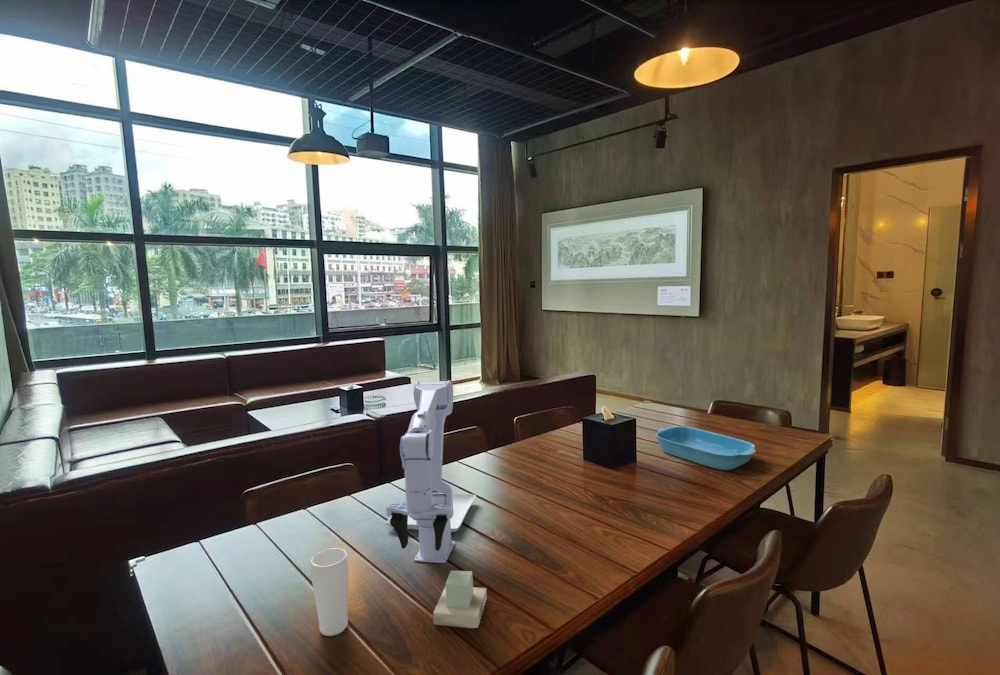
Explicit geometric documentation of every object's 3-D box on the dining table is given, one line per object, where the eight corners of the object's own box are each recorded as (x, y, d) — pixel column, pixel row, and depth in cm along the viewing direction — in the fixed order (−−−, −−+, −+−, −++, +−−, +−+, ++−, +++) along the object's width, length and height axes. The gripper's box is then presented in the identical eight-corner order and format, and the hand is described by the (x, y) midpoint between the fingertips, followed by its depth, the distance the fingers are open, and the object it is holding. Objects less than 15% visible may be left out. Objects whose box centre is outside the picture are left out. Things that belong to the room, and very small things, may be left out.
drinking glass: (355, 615, 99) (351, 546, 97) (346, 639, 92) (341, 566, 90) (322, 617, 98) (317, 548, 97) (310, 641, 92) (305, 567, 90)
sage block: (452, 592, 101) (450, 570, 101) (473, 593, 101) (472, 571, 100) (446, 607, 97) (445, 583, 96) (468, 608, 96) (467, 585, 96)
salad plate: (458, 539, 128) (458, 527, 127) (384, 533, 132) (384, 521, 132) (478, 504, 148) (477, 493, 148) (413, 499, 153) (413, 489, 152)
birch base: (446, 597, 104) (446, 584, 104) (487, 601, 103) (486, 588, 102) (433, 626, 95) (433, 612, 95) (477, 631, 94) (477, 616, 94)
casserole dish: (767, 463, 174) (767, 444, 173) (735, 479, 161) (736, 458, 160) (677, 439, 204) (677, 422, 203) (644, 450, 190) (644, 433, 190)
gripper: (379, 493, 101) (382, 555, 102) (446, 496, 98) (448, 559, 100) (392, 480, 108) (395, 538, 109) (454, 482, 105) (457, 541, 107)
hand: (421, 547), depth 105 cm, fingers open, 7 cm apart
